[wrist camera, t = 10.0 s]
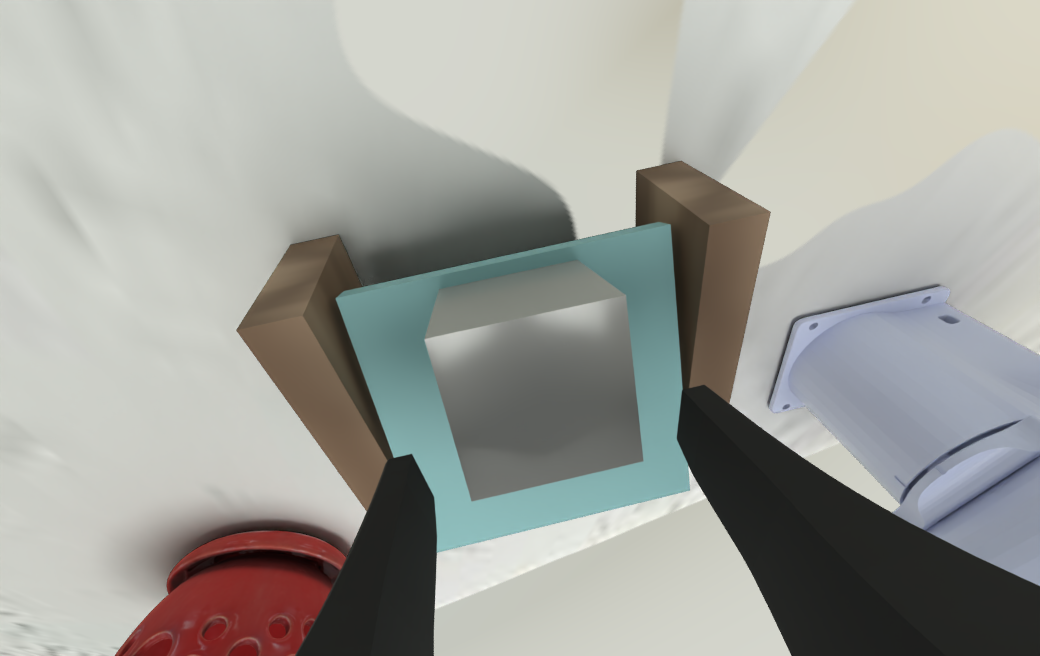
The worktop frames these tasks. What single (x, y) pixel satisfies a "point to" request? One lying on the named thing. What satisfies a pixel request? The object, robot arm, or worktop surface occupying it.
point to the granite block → (535, 377)
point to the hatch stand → (328, 272)
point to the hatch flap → (421, 414)
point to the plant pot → (240, 597)
